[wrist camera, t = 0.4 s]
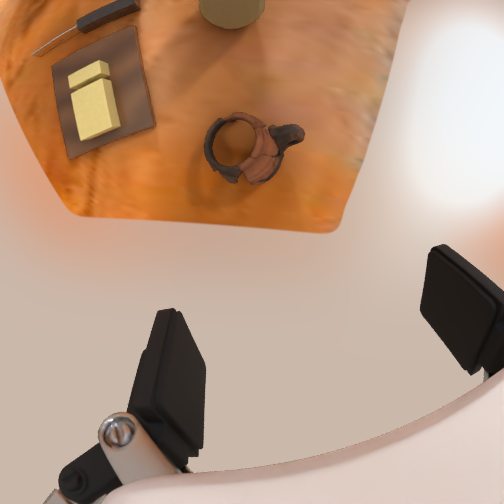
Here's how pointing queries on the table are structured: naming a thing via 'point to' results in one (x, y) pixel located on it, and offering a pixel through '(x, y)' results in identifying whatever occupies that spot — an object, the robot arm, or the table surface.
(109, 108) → the butter
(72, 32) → the knife
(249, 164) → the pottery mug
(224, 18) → the squeeze bottle
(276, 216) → the table surface
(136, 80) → the cutting board
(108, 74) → the butter slice
